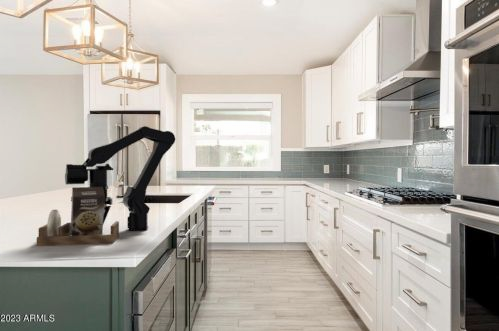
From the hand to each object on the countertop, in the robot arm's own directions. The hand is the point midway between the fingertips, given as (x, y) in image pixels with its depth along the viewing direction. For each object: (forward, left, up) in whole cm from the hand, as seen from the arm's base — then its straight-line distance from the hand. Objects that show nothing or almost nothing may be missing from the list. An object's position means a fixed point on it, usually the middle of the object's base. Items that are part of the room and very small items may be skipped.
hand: (98, 228), depth 126 cm
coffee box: (+2, +8, -1) cm, 9 cm away
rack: (0, +11, -2) cm, 11 cm away
